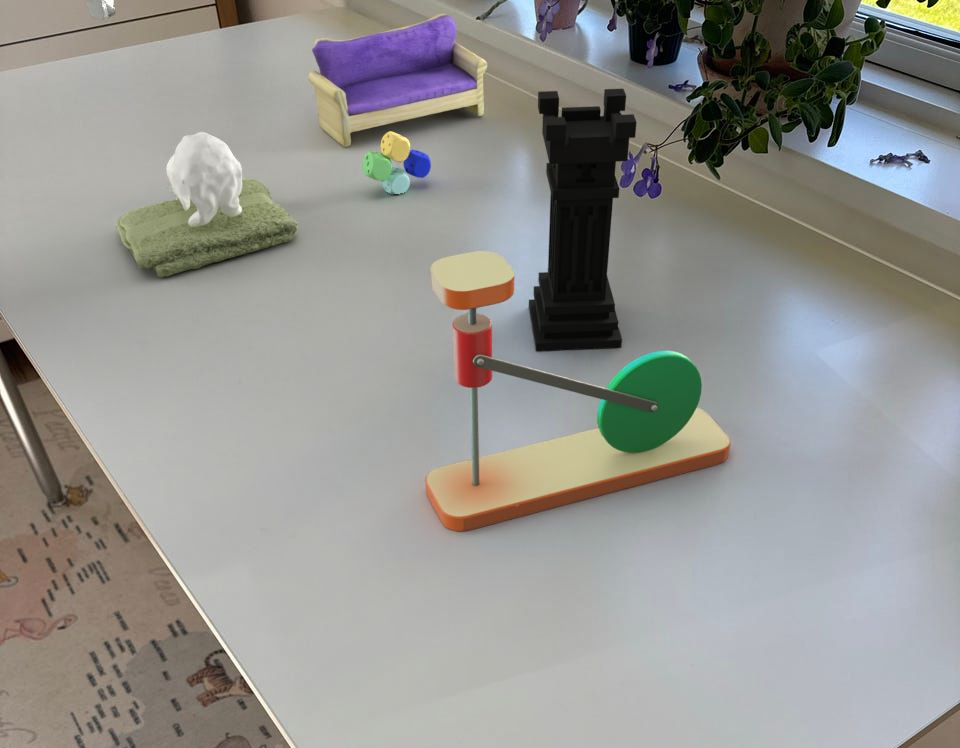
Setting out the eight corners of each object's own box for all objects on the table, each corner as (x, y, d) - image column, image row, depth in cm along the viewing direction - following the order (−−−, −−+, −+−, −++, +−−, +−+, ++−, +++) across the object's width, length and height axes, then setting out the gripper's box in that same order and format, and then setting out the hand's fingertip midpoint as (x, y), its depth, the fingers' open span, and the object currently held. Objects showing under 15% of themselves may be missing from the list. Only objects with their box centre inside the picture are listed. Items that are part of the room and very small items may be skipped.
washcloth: (112, 234, 114) (104, 205, 112) (264, 198, 120) (259, 170, 117) (144, 286, 106) (136, 256, 104) (306, 245, 112) (301, 216, 109)
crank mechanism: (448, 535, 79) (437, 304, 65) (421, 484, 84) (404, 257, 70) (735, 459, 85) (781, 232, 71) (695, 415, 89) (732, 193, 75)
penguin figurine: (178, 149, 100) (136, 122, 108) (200, 237, 106) (158, 205, 113) (238, 134, 102) (192, 108, 110) (257, 221, 108) (212, 191, 116)
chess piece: (535, 351, 97) (541, 127, 82) (528, 307, 102) (533, 90, 88) (621, 347, 97) (642, 123, 82) (609, 303, 102) (627, 86, 88)
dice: (423, 177, 123) (420, 120, 118) (434, 185, 121) (431, 128, 117) (362, 193, 120) (356, 136, 115) (372, 201, 119) (367, 144, 114)
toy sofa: (340, 150, 128) (330, 60, 121) (313, 126, 134) (302, 39, 126) (489, 117, 135) (488, 29, 127) (458, 95, 140) (455, 10, 133)
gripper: (154, -210, 93) (186, -31, 103) (-23, -171, 80) (33, 28, 90) (210, -204, 91) (237, -22, 101) (37, -163, 78) (87, 40, 88)
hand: (139, 2), depth 95 cm, fingers open, 8 cm apart
